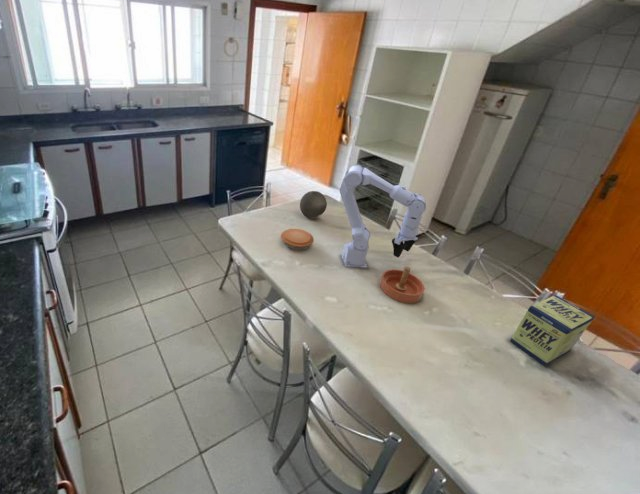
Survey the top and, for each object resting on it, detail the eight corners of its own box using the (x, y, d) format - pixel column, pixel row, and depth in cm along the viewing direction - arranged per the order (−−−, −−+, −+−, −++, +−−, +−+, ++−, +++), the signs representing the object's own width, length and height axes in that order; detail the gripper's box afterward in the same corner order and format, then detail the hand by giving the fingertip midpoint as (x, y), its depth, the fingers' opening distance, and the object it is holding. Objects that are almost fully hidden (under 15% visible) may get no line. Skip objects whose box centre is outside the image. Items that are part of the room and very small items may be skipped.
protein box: (508, 341, 109) (529, 306, 102) (534, 327, 115) (555, 293, 108) (544, 367, 101) (569, 330, 94) (571, 351, 107) (596, 315, 100)
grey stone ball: (298, 221, 176) (301, 196, 169) (298, 209, 189) (301, 185, 182) (324, 224, 174) (329, 199, 168) (323, 212, 187) (327, 188, 180)
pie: (317, 241, 159) (319, 232, 157) (305, 256, 147) (306, 247, 145) (288, 231, 166) (289, 223, 164) (274, 245, 154) (275, 236, 152)
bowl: (387, 302, 123) (390, 293, 121) (374, 276, 137) (377, 268, 135) (428, 305, 123) (431, 296, 121) (411, 279, 136) (414, 270, 134)
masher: (397, 292, 128) (404, 270, 123) (393, 285, 131) (400, 264, 127) (407, 293, 128) (415, 271, 123) (403, 286, 131) (410, 265, 126)
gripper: (410, 234, 122) (401, 264, 128) (429, 224, 130) (419, 252, 136) (393, 226, 127) (384, 255, 133) (412, 216, 135) (403, 244, 141)
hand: (401, 253), depth 135 cm, fingers open, 7 cm apart
